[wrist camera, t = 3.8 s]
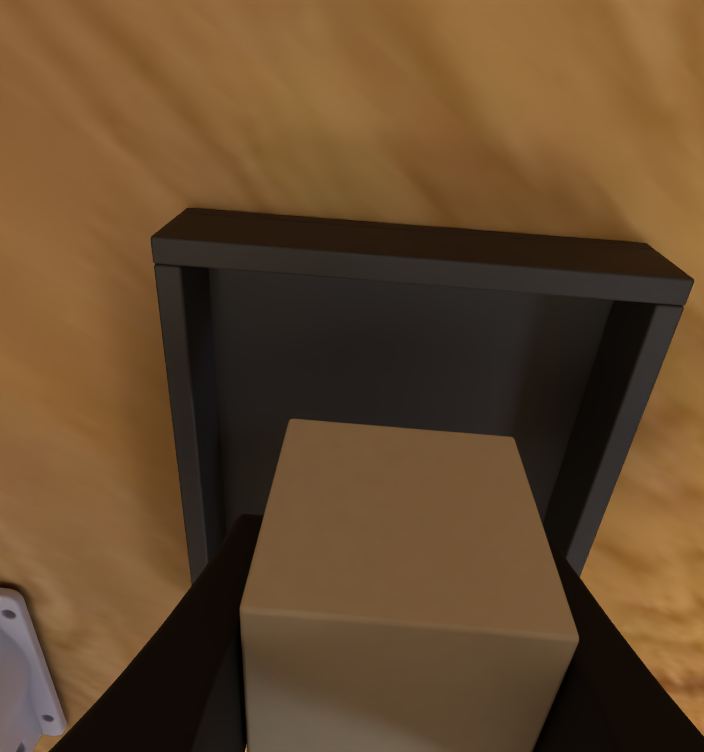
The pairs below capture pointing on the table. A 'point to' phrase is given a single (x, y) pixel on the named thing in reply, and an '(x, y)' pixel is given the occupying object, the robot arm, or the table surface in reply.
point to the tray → (406, 351)
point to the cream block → (401, 597)
